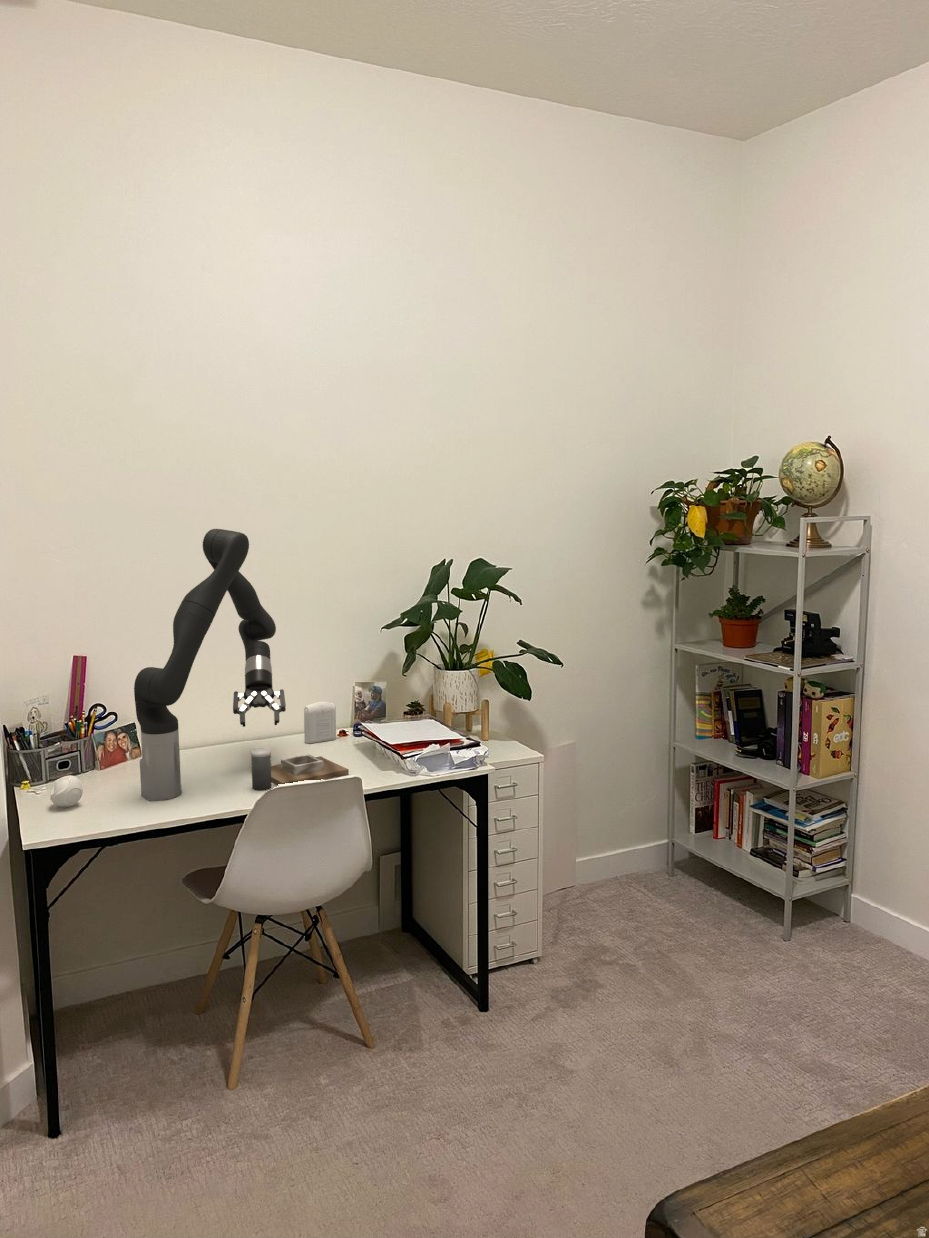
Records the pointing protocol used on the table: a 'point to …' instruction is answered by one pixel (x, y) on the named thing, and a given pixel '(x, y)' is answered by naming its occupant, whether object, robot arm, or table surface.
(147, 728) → the robot arm
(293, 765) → the mount board
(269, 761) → the dark grey cylinder
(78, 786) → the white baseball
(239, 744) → the table surface
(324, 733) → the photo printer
